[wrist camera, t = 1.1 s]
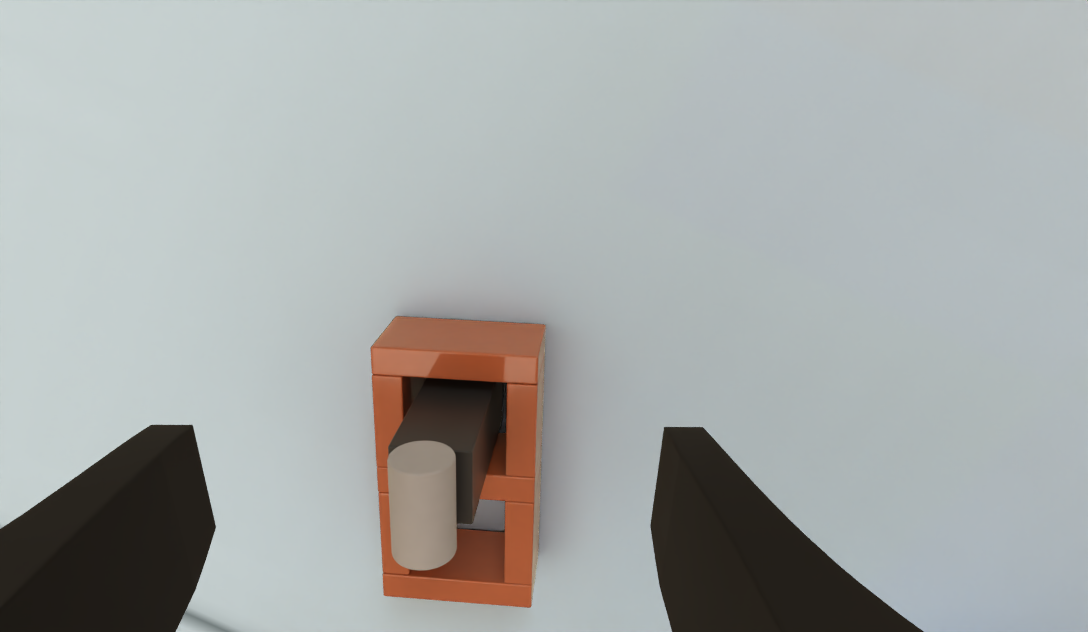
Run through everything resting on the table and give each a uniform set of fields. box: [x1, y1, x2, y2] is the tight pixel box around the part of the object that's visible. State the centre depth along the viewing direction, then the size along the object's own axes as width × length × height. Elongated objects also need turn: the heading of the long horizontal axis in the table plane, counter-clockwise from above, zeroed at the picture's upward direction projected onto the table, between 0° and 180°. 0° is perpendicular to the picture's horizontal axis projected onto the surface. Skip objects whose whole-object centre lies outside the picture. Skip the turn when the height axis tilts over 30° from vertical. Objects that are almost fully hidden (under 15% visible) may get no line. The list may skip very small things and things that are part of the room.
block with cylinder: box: [387, 378, 503, 571], centre depth 23 cm, size 3×2×8 cm
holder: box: [371, 316, 546, 608], centre depth 26 cm, size 10×5×3 cm, turn 178°
